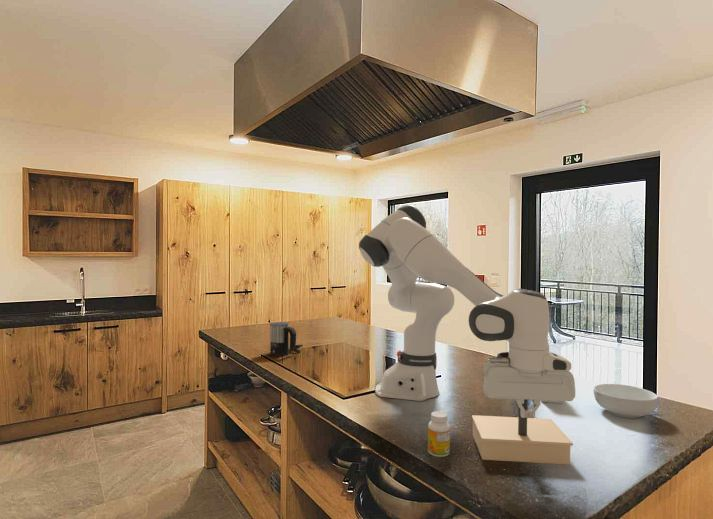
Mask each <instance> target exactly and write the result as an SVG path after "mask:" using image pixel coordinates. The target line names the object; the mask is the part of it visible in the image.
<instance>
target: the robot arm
mask: <svg viewBox="0 0 713 519" xmlns="http://www.w3.org/2000/svg"><path fill="white" fill-rule="evenodd" d="M358 250H359V252H360V256H362V258H363V259H364V261H365V262H367V263H368V264H369V265H371V266H372V267H376V268H380V267H382V268H383V270H384V271H385V273H386V275H387V276H388V278H389V280H390V282H391V286H390V287H389V289H388V292H387V300H388V303H389V305H390V306H391V307H392V308H394V309H396V310H399V311H402V312H405V313H413V314H415V319H414V322H413V323H411V324H409V325H407V327H406V328H405V329H404V332H403V350H400V349H398V350H397V351H396V356H397V362H396V363H395V364H393V365H392V366H390V367H388V368H387V369H386V370H385V371H384V373H383V375H382V378H381V382H379V383H377V384H376V386H375V394H376V395H377V396H378V397H380V398H381V397H382V398H390V399H400V400H408V401H418V402H422V401H425V400H427V399H431V398H436V397H437V396H439V395H440V390H439V386H438V381H437V371H436V370H437V363H438V362H437V361H438V360H437V357H438V356H437V353H436V338H437V331H438V327H439V324H441V321H442V319H443V318H444V317H446V315H448V314H449V313H450V312H451V311H452V310H453V308H454V305H455V295H454V292H453V290H452V289H451V288H453V289H455V290H456V291H458V293H460V294H461V295H463V297H465V298H466V299H467V300H468V301H469V302H470V303H471V304H473V305H474V307H473V308H472V309H471V311H470V312H469V315H468V327H469V329H470V330H471V332H472V334H473V335H474V336H475V337H476V338H477V339H479V340H480V341H484V342H497V341H499V342H500V341H507V342H508V352H509V358H496V357H490V358H489V359H486V360H485V361H484V362H483V364H482V373H483V375H484V376H483V377H484V378H483V386H482V391H483V393H484V394H485V396H486V397H487V398H489V399H501V400H502V399H505V400H507V399H508V400H515V402H516V404H517V406H518V408H519V407H520V415H521V417H522V418H536V411H537V410H538V408H539V407H540V406H541V400H552V401H562V402H572V401H574V399H575V398H576V383H575V377H574V374H573V373H572V371H571V369H572V363H571V362H570V361H569V359H567V358H566V357H564V356H563V355H560V354H557V353H554V352H550V344H549V340H548V336H549V333H550V330H551V329H550V327H551V326H550V325H551V324H550V321H551V320H550V317H551V316H550V307H549V302H548V300H547V297H546V296H545V295H544V294H543V293H541V292H538V291H536V290H531V289H525V288H516V289H512V290H511V292H509V293H507V294H505V295H503V294H501V293H498V292H496V291H495V290H494V289H493V288H491V287H490V286H489V285H488V284H487V283H485V282H484V280H482V279H481V278H480V277H478V276H477V275H476V274H475V273H474V272H473V271H471V270H470V269H469V268H468V267H467V266H465V265H464V264H463V263H462V262H461V261H460V260H459V259H458V258H457V257H456V256H455V255H454V254H453V253H452V252H451V251H450V250H449V249H448V248H447V247H446V246H445V245H444V243H442V242H441V241H440V240H439V238H437V237H436V236H435V235H433V233H431V232H430V231H429V230H428V229H427V220H426V219H425V217H424V215H423V213H422V212H421V211H420V210H419V209H418V208H417V207H416V206H414V205H411V204H406V205H402V206H401V207H398V208H397V210H395V211H393V212H392V213H391V214H389V215H387V216H385V218H384V219H382V220H380V222H379V223H378V224H377V225H375V226H374V228H372V229H371V231H370V230H369V232H368V233H367V234H365V235H364V236H363V237H362V238H361V239H360V240H359V242H358ZM418 277H419V278H420V279H422V280H424V281H426V282H421V281H419V280H418ZM450 287H451V288H450ZM524 399H527V400H528V401H529V400H531V401H532V405H531V406H530V408H528V407H527V408H524V407H523V406H522V404H524ZM521 403H522V404H521Z"/></svg>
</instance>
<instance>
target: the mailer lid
mask: <svg viewBox="0 0 713 519" xmlns="http://www.w3.org/2000/svg"><path fill="white" fill-rule="evenodd" d="M528 401H529V400H527V399H524V404H522V403H521V404H522V406H523V407H524V408H528V404H529V403H528ZM517 415H518V416H517V417H516V416H515V417H513V416H499V415H498V416H495V415H478V414H477V415H476V414H475V415H473V414H472V415H471V420H472V422H473V421H474V424H475V426H476V428H477V431H478V433H479V436H480V438H481V440H482V441H493V442H512V443H531V444H550V445H569V446H570V447H571V446H572V447H574V446H573V445H574V443H573V442H572V441H571V439H570V438H569V437H568V436H567V435H566V434H565V433H564V432H563V431H562V430H561V428H560V426H558V425H557V424H556V423H555V422H554V420H553V419H552V418H540V417H539V418H538V417H535V418H522V417H521V415H520V407H519V406H518V414H517Z"/></svg>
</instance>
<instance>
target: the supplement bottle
mask: <svg viewBox="0 0 713 519" xmlns="http://www.w3.org/2000/svg"><path fill="white" fill-rule="evenodd" d="M430 419H431V420H430V421H429V422H428V426H427V453H428V454H430V455H432V456H435V457H441V458H442V457H447V456H448V455H450V453H451V451H450V450H451V425H450V422H448V419H449V418H448V414H447V412H445V411H440V410H436V411H432V412H431V414H430Z"/></svg>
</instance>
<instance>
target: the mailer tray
mask: <svg viewBox="0 0 713 519" xmlns="http://www.w3.org/2000/svg"><path fill="white" fill-rule="evenodd" d="M472 437H473V440H474V442H475V444H476V448H477V449H478V453H479V455H480V457H481V460H483V461H484V460H485V461H502V462H515V463H516V462H517V463H531V464H532V463H537V464H550V465H551V464H553V465H554V464H555V465H571V446H569V445H550V444H531V443H512V442H493V441H482V440H481V438H480V436H479V433H478V431H477V428H476V426H475V424H474V421H473V420H472Z"/></svg>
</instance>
